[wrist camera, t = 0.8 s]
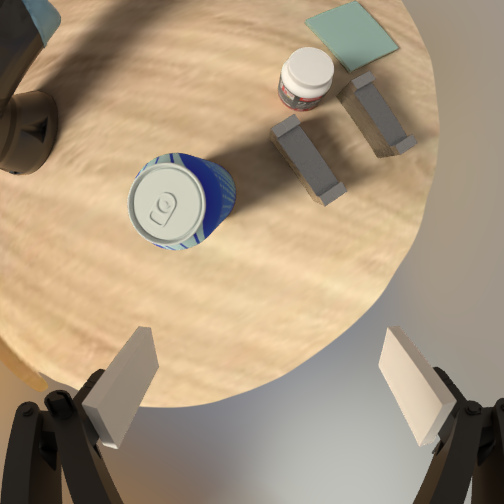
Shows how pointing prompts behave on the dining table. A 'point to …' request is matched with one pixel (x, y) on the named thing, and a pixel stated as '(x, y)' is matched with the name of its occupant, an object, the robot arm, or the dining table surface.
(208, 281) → the dining table surface
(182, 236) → the beer can
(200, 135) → the dining table surface
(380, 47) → the coaster
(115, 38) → the dining table surface
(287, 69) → the pill bottle
